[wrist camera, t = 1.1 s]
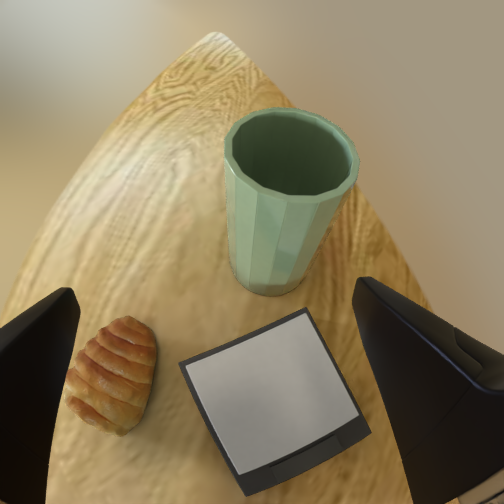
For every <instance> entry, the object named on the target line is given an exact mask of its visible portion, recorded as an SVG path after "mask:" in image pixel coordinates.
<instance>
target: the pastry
mask: <svg viewBox="0 0 504 504" xmlns="http://www.w3.org/2000/svg"><path fill="white" fill-rule="evenodd" d="M156 357H157V349H156V341H155V337H154V334H153V332H152V330H151V329H150V328H149V327H147V326H146V325H144V324H143V323H141V322H139V321H137V320H136V319H135V318H133V317H131V316H125V317H122V318H117V319H115V320H114V321H112V322H111V324H109V325H108V326H106V327H104V328H101V329H100V330H99V331H98V333H97V335H96V336H95V337H94V338H92V339H91V340H89V341H88V342H87V343H86V346H85V348H84V349H82V350H80V351H79V352H78V354H77V357H76V358H75V361H74V365H75V366H74V368H71V369H69V370H68V371H67V375H66V379H65V382H66V385H67V386H66V389H65V391H64V403H65V405H66V406H67V408H68V409H69V410H71V412H72V413H73V414H74V415H76V416H77V417H78V418H79V419H80V420H82V421H83V422H84V423H86V424H88V425H91V426H93V427H94V428H96V429H97V430H99V431H102V432H104V433H107V434H109V435H114V436H119V437H122V436H124V435H126V434H127V433H128V432H129V431H130V430H131V429H132V428H133V427H134V426H135V425H136V424H138V423H139V422H140V420H141V419H142V416H143V413H144V411H145V408H146V404H147V400H148V397H149V394H150V391H151V385H152V380H153V374H154V368H155V363H156Z"/></svg>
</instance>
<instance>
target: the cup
mask: <svg viewBox="0 0 504 504" xmlns="http://www.w3.org/2000/svg"><path fill="white" fill-rule="evenodd" d="M359 165H360V159H359V156H358V154H357V151H356V148H355V145H354V143H353V141H352V140H351V139H350V138H349V137H348V136H347V135H346V134H345V133H344V132H343V130H342V129H341V128H340V127H338V126H337V125H335V124H334V123H332V122H331V121H329V120H327V119H325V118H324V117H322V116H320V115H318V114H315V113H311V112H308V111H305V110H301V109H297V108H280V107H274V108H273V107H272V108H268V109H263V110H259V111H255V112H251V113H250V114H248V115H246V116H245V117H243V118H241V119H240V120H238V121H237V122H235V123H234V125H233V126H232V128H231V129H230V131H229V132H228V134H227V135H226V137H225V139H224V166H225V187H226V207H227V226H228V243H229V260H230V265H231V269H232V272H233V274H234V276H235V277H236V279H237V280H238V281H239V282H240V283H241V284H242V285H243V286H244V287H245V288H246V289H248V290H250V291H252V292H254V293H256V294H260V295H264V296H278V295H282V294H285V293H288V292H290V291H292V290H293V289H295V288H296V287H297V286H298V285H299V284H300V283H301V282H302V281H303V279H304V278H305V277H306V275H307V274H308V272H309V270H310V268H311V266H312V265H313V263H314V261H315V259H316V257H317V255H318V254H319V252H320V250H321V248H322V246H323V244H324V242H325V241H326V239H327V237H328V235H329V233H330V231H331V229H332V227H333V225H334V223H335V222H336V220H337V218H338V216H339V214H340V212H341V210H342V208H343V206H344V204H345V202H346V200H347V198H348V196H349V194H350V192H351V190H352V188H353V186H354V184H355V182H356V180H357V177H358V171H359Z"/></svg>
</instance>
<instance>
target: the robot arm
mask: <svg viewBox="0 0 504 504" xmlns="http://www.w3.org/2000/svg"><path fill="white" fill-rule="evenodd" d="M352 306H353V310H354V313H355V317H356V321H357V324H358V328H359V332H360V336H361V340H362V343H363V346H364V349H365V352H366V355H367V357H368V360H369V363H370V365H371V368H372V371H373V374H374V376H375V379H376V382H377V385H378V388H379V390H380V393H381V396H382V399H383V402H384V405H385V408H386V411H387V414H388V417H389V420H390V423H391V426H392V429H393V433H394V436H395V439H396V442H397V446H398V449H399V452H400V456H401V459H402V463H403V467H404V470H405V474H406V477H407V481H408V485H409V489H410V492H411V496H412V500H413V504H445V503H447V502H449V501H451V500H453V499H455V498H458V501H459V504H504V355H502V354H501V353H499V352H497V351H495V350H494V349H492V348H490V347H488V346H486V345H485V344H483V343H481V342H479V341H477V340H476V339H474V338H472V337H470V336H469V335H467V334H466V333H464V332H462V331H461V330H459V329H457V328H456V327H453V325H451V324H449V323H448V322H446V321H444V320H443V319H441V318H440V317H438V316H436V315H435V314H433V313H431V312H430V311H428V310H426V309H425V308H423V307H421V306H420V305H418V304H416V303H415V302H413V301H411V300H410V299H408V298H406V297H405V296H403V295H401V294H400V293H398V292H396V291H394V290H393V289H391V288H389V287H388V286H386V285H384V284H382V283H381V282H379V281H377V280H375V279H374V278H372V277H359V278H358V279H357V281H356V284H355V289H354V293H353V297H352ZM80 313H81V312H80V306H79V304H78V301H77V299H76V296H75V294H74V291H73V290H72V288H69V287H61V288H59V289H57V290H56V291H54V292H53V293H51V294H50V295H48V296H47V297H45V298H44V299H42V300H41V301H39V302H38V303H36V304H35V305H33V306H32V307H30V308H29V309H27V310H26V311H24V312H23V313H21V314H20V315H19V316H17V317H16V318H14V319H13V320H11V321H10V322H9V323H7V324H6V325H4V326H3V327H2V328H0V504H45V501H46V487H47V477H48V468H49V465H48V464H49V459H50V452H51V446H52V439H53V434H54V428H55V423H56V418H57V413H58V408H59V403H60V399H61V395H62V391H63V386H64V382H65V379H66V375H67V371H68V367H69V364H70V360H71V356H72V352H73V348H74V343H75V337H76V333H77V328H78V323H79V319H80Z"/></svg>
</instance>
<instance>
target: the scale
mask: <svg viewBox="0 0 504 504" xmlns="http://www.w3.org/2000/svg"><path fill="white" fill-rule="evenodd" d="M178 364H179V366H180V369H181V371H182V373H183V376H184V378H185V380H186V383H187V385H188V387H189V389H190V392H191V394H192V396H193V398H194V400H195V403H196V405H197V407H198V409H199V411H200V413H201V415H202V417H203V419H204V421H205V423H206V425H207V428H208V430H209V432H210V433H211V435H212V437H213V439H214V441H215V443H216V445H217V447H218V449H219V451H220V453H221V455H222V456H223V458H224V460H225V462H226V464H227V466H228V467H229V469H230V471H231V473H232V474H233V476H234V478H235V480H236V481H237V483H238V485H239V486H240V488H241V490H242V491H243V493H244V495H245V496H246V497H247V496H250V495H253V494H255V493H258V492H261V491H263V490H265V489H268V488H270V487H273V486H275V485H277V484H280V483H282V482H284V481H286V480H289V479H291V478H293V477H295V476H297V475H299V474H301V473H303V472H305V471H307V470H309V469H311V468H313V467H315V466H317V465H319V464H321V463H323V462H324V461H326V460H328V459H330V458H332V457H333V456H335V455H337V454H339V453H340V452H342V451H344V450H346V449H347V448H349V447H350V446H352V445H354V444H355V443H357V442H359V441H360V440H362V439H363V438H365V437H366V436H368V435H369V434H371V433H372V432H371V430H370V428H369V426H368V424H367V422H366V420H365V418H364V416H363V414H362V412H361V410H360V408H359V406H358V404H357V402H356V401H355V399H354V397H353V395H352V393H351V391H350V389H349V387H348V385H347V383H346V381H345V379H344V377H343V375H342V373H341V371H340V370H339V368H338V366H337V364H336V362H335V360H334V358H333V356H332V354H331V352H330V350H329V349H328V347H327V345H326V343H325V341H324V339H323V337H322V335H321V333H320V332H319V330H318V328H317V326H316V324H315V322H314V320H313V318H312V317H311V315H310V313H309V311H308V309H307V307H305V308H303V309H300V310H298V311H296V312H294V313H292V314H290V315H288V316H286V317H284V318H282V319H280V320H277V321H275V322H273V323H271V324H269V325H267V326H264V327H262V328H260V329H258V330H256V331H253V332H251V333H249V334H247V335H244V336H242V337H240V338H237V339H235V340H233V341H231V342H228V343H226V344H224V345H221V346H219V347H216V348H214V349H212V350H209V351H207V352H204V353H202V354H199V355H197V356H194V357H192V358H189V359H187V360H184V361H182V362H179V363H178Z"/></svg>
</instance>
